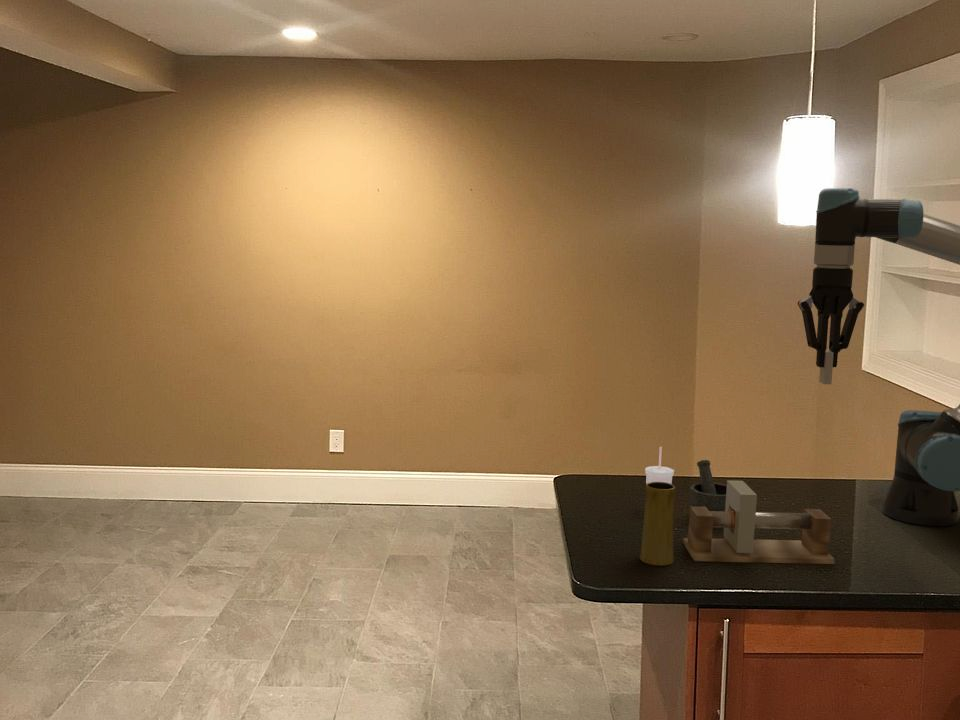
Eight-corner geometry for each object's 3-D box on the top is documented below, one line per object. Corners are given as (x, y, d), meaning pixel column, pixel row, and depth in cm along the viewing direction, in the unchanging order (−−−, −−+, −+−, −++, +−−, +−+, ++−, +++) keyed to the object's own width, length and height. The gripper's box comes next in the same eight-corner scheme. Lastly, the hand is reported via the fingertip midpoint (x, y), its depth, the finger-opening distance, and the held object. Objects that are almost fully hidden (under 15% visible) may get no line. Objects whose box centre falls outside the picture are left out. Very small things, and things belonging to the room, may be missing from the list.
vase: (666, 568, 177) (670, 492, 175) (634, 561, 180) (638, 486, 178) (678, 559, 182) (682, 484, 180) (647, 552, 185) (651, 479, 183)
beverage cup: (677, 511, 211) (681, 448, 209) (657, 516, 208) (660, 451, 206) (657, 504, 216) (660, 442, 214) (637, 508, 213) (640, 445, 211)
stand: (815, 545, 192) (818, 506, 190) (834, 564, 182) (837, 522, 180) (682, 542, 191) (685, 503, 190) (694, 561, 181) (696, 519, 180)
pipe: (815, 527, 188) (817, 509, 187) (822, 533, 184) (823, 515, 184) (695, 524, 187) (696, 507, 187) (699, 530, 184) (701, 512, 183)
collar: (738, 535, 191) (742, 480, 189) (752, 553, 181) (757, 495, 180) (723, 535, 191) (727, 480, 189) (736, 552, 181) (740, 494, 180)
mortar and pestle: (743, 527, 202) (747, 470, 200) (702, 529, 200) (706, 472, 198) (717, 510, 213) (720, 456, 211) (677, 512, 210) (680, 458, 209)
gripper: (857, 266, 200) (849, 380, 203) (794, 265, 199) (787, 379, 203) (873, 268, 192) (864, 386, 196) (807, 267, 192) (800, 386, 195)
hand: (825, 383), depth 199 cm, fingers closed
